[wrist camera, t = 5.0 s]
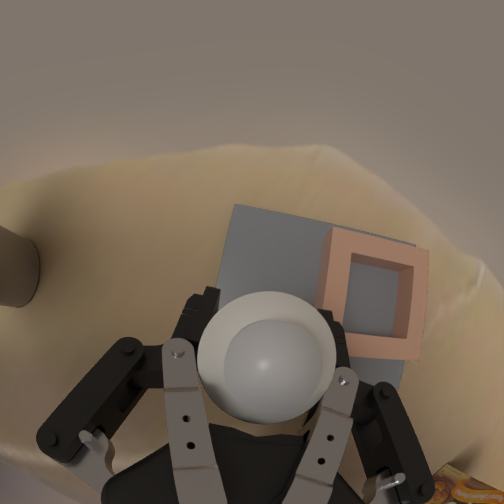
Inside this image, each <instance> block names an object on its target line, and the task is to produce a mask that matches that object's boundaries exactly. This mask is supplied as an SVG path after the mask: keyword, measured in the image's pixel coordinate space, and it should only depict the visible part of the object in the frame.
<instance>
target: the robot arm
mask: <svg viewBox="0 0 504 504" xmlns="http://www.w3.org/2000/svg"><path fill="white" fill-rule="evenodd" d="M38 278H39V257H38V253H37V250H36V248H35V246H34V244H33V243H32V242H31V241H30V240H28V239H26V238H24V237H22V236H20V235H18V234H16V233H14V232H12V231H10V230H8V229H6V228H4V227H2V226H0V305H3V306H10V307H22V306H24V305H25V304H27V303H28V302H29V301H30V299H31V298H32V296H33V294H34V292H35V290H36V286H37V283H38ZM220 293H221V289H218V288H214V287H209V286H206V289H205V291H204V294H203V295H198V294H193V295H192V296H191V297H190V298H189V299H188V300H187V302H186V304H185V307H184V309H183V311H182V315H181V316H180V318H179V321H178V323H177V326H176V328H175V330H174V333H173V335H172V337H171V339H170V340H168V341H166V342H165V343H164V344H162V345H158V346H143V344H142V343H141V342H140V341H139V340H138V339H136V338H133V337H124V338H121V339H119V340H118V341H117V342H116V343H115V344H114V345H113V346H112V347H111V348H110V349H109V350H108V351H107V352H106V354H105V355H104V356H103V357H102V358H101V359H100V360H99V361H98V362H97V363H96V364H95V365H94V367H93V368H92V369H91V370H90V371H89V372H88V373H87V374H86V375H85V376H84V378H83V379H82V380H81V381H80V382H79V383H78V384H77V385H76V387H75V388H74V389H73V390H72V391H71V392H70V393H69V394H68V396H67V397H66V398H65V399H64V400H63V401H62V402H61V404H60V405H59V406H58V407H57V408H56V409H55V411H54V412H53V413H52V414H51V415H50V416H49V418H48V419H47V420H46V421H45V422H44V423H43V425H42V426H41V427H40V428H39V430H38V432H37V435H36V441H37V444H38V446H39V448H40V450H41V451H42V452H43V453H45V454H46V455H48V456H49V457H51V458H52V459H53V460H54V461H56V462H58V463H59V464H61V465H63V466H64V467H66V468H68V469H69V470H70V471H71V472H73V473H74V474H75V475H76V476H77V477H79V478H80V479H81V480H83V481H84V482H85V483H86V484H88V485H89V486H90V487H92V488H93V489H94V490H96V491H97V492H99V493H100V494H101V503H102V504H424V503H427V502H428V501H430V500H431V498H432V497H433V495H434V493H435V483H434V480H433V477H432V475H431V472H430V469H429V467H428V464H427V461H426V459H425V456H424V454H423V451H422V449H421V446H420V444H419V441H418V439H417V436H416V434H415V431H414V429H413V427H412V424H411V422H410V420H409V417H408V415H407V413H406V411H405V408H404V406H403V404H402V402H401V400H400V397H399V395H398V393H397V391H396V389H395V388H394V386H393V385H391V384H390V383H388V382H383V381H382V382H378V383H377V384H376V385H375V386H373V385H370V384H368V383H365V382H362V381H360V380H359V378H358V376H357V374H356V373H355V372H354V371H353V370H352V369H351V367H350V360H349V354H348V348H347V345H346V344H347V343H346V339H345V338H346V337H345V332H344V329H343V327H342V325H341V324H340V322H337V321H334V318H333V313H332V311H331V310H325V309H319V308H318V309H317V311H318V312H319V313H320V314H321V315H322V317H323V318H324V319H325V321H326V322H327V324H328V326H329V327H330V330H331V332H332V334H333V337H334V341H335V346H336V365H335V371H334V374H333V378H332V380H331V382H330V385H329V387H328V388H327V390H326V392H325V393H324V395H323V396H322V397H321V398H320V400H319V401H318V402H317V403H316V404H315V405H314V406H313V407H311V408H310V409H309V410H308V411H307V413H306V415H305V418H304V420H303V422H302V425H301V427H300V429H299V431H298V432H297V434H296V435H284V434H280V435H271V436H262V437H255V436H252V435H250V434H247V433H245V432H242V431H240V430H237V429H235V428H232V427H226V426H221V425H216V424H211V423H209V426H208V422H207V417H206V412H205V406H204V401H203V395H202V390H201V388H200V386H199V381H198V374H197V371H198V365H197V354H198V347H199V343H200V340H201V337H202V334H203V332H204V330H205V328H206V326H207V325H208V323H209V322H210V320H211V319H212V318H213V317H214V315H215V314H216V313H217V312H218V308H219V300H220ZM148 388H164V401H165V412H166V422H167V430H168V438H169V443H167V444H166V445H164V446H163V447H161V448H160V449H158V450H157V451H155V452H153V453H152V454H150V455H149V456H147V457H145V458H144V459H142V460H140V461H139V462H137V463H135V464H134V465H132V466H130V467H128V468H127V469H125V470H123V471H121V472H119V473H118V474H116V475H115V474H114V472H113V470H112V460H113V458H114V456H115V448H114V446H113V444H112V442H111V441H110V439H111V438H112V436H113V435H114V434H115V432H116V431H117V430H118V428H119V427H120V425H121V424H122V423H123V421H124V420H125V419H126V417H127V416H128V415H129V413H130V412H131V411H132V409H133V408H134V407H135V405H136V404H137V403H138V401H139V400H140V398H141V397H142V396H143V394H144V393H145V392H146V390H147V389H148ZM350 431H352V434H353V437H354V440H355V443H356V446H357V449H358V452H359V455H360V458H361V461H362V464H363V467H364V470H365V474H366V477H367V480H366V482H365V484H364V487H363V489H362V494H363V495H364V497H363V500H362V499H361V498H360V497H359V496H358V495H357V494H356V493H355V491H354V490H353V489H352V488H351V487H350V486H349V485H348V483H347V482H346V481H345V480H344V479H343V477H342V476H341V475H340V474H339V473H338V472H337V470H338V468H339V465H340V462H341V459H342V456H343V453H344V450H345V447H346V444H347V441H348V438H349V435H350Z"/></svg>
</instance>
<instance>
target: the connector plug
mask: <svg viewBox="0 0 504 504" xmlns="http://www.w3.org/2000/svg"><path fill="white" fill-rule="evenodd" d="M197 365H198V372H199V376H200V379H201V382H202V384H203V387H204V389H205V391H206V392H207V394H208V395H209V397H210V398H211V399H212V400H213V402H214V403H215V404H216V405H217V406H218V407H219V408H221V409H222V410H223V411H225V412H226V413H228V414H229V415H231V416H233V417H235V418H237V419H240V420H242V421H245V422H250V423H255V424H275V423H281V422H284V421H288V420H291V419H293V418H295V417H298V416H299V415H301V414H303V413H305V412H306V411H307V410H309V409H310V408H311V407H313V406H314V405H315V404H316V403H317V402H318V401H319V400H320V398H321V397H322V396H323V395H324V393H325V392H326V390H327V388H328V387H329V385H330V382H331V380H332V378H333V374H334V371H335V365H336V346H335V341H334V337H333V334H332V332H331V330H330V327H329V326H328V324H327V322H326V321H325V319H324V318H323V317H322V315H321V314H320V313H319V312H318V311H317V310H316V309H315V308H314V307H313V306H311V305H310V304H309V303H307V302H305V301H304V300H302V299H300V298H298V297H295V296H293V295H290V294H286V293H283V292H275V291H263V292H255V293H251V294H247V295H244V296H242V297H239V298H237V299H235V300H233V301H232V302H230V303H228V304H227V305H225V306H224V307H223V308H221V309H220V310H219V311H218V312H217V313H216V314H215V315H214V317H213V318H212V319H211V320H210V322H209V323H208V325H207V326H206V328H205V330H204V332H203V334H202V337H201V340H200V343H199V347H198V354H197Z"/></svg>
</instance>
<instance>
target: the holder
mask: <svg viewBox="0 0 504 504" xmlns="http://www.w3.org/2000/svg"><path fill="white" fill-rule="evenodd" d="M428 276H429V251H428V250H425V249H421V248H417V247H416V245H414V244H411V243H407V242H403V241H400V240H396V239H392V238H388V237H384V236H380V235H376V234H372V233H368V232H364V231H360V230H356V229H352V228H348V227H343V226H339V225H335V224H331V223H326V222H322V221H317V220H313V219H308V218H304V217H299V216H294V215H289V214H285V213H280V212H275V211H270V210H265V209H260V208H255V207H249V206H244V205H239V204H234V209H233V213H232V217H231V221H230V226H229V230H228V234H227V239H226V243H225V247H224V252H223V256H222V261H221V265H220V270H219V274H218V279H217V283H216V288H218V289H221V293H220V300H219V308H218V311H219V310H220V309H221V308H223V307H224V306H225V305H227V304H228V303H230V302H232V301H233V300H235V299H237V298H239V297H242V296H244V295H247V294H251V293H255V292H263V291H275V292H283V293H286V294H290V295H293V296H295V297H298V298H300V299H302V300H304V301H305V302H307V303H309V304H310V305H311V306H313V307H314V308H315V309H316V310H317V309H318V308H319V309H325V310H331V311H332V313H333V318H334V321H337V322H340V324H341V325H342V327H343V329H344V332H345V337H346V338H345V339H346V343H347V344H346V345H347V348H348V354H349V360H350V367H351V369H352V370H353V371H354V372H355V373H356V374H357V376H358V378H359V380H360V381H362V382H365V383H368V384H370V385H373V386H375V385H376V384H377V383H378V382H382V381H383V382H388V383H390V384H391V385H393V386H394V388H395V389H398V388H399V384H400V380H401V375H402V371H403V366H404V361H405V360H419V356H420V350H421V344H422V338H423V331H424V323H425V314H426V305H427V293H428Z"/></svg>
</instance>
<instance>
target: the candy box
mask: <svg viewBox="0 0 504 504" xmlns="http://www.w3.org/2000/svg"><path fill="white" fill-rule="evenodd" d="M433 480H434V483H435V493H434V495H433V497H432V498H431V500H430V501H428V502H427V503H424V504H504V492H502V491H500V490H497V489H495V488H493V487H491V486H489V485H487V484H485V483H483V482H480V481H478V480H476V479H474V478H472V477H470V476H469V475H467V474H465V473H463V472H461V471H459V470H457V469H455V468H454V467H452V466H450V465H448V464H446V465H445V466H444V467H443V468H441V469H440V470H439V471H438V472H437V473H436V474H435V475H434V476H433Z"/></svg>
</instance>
